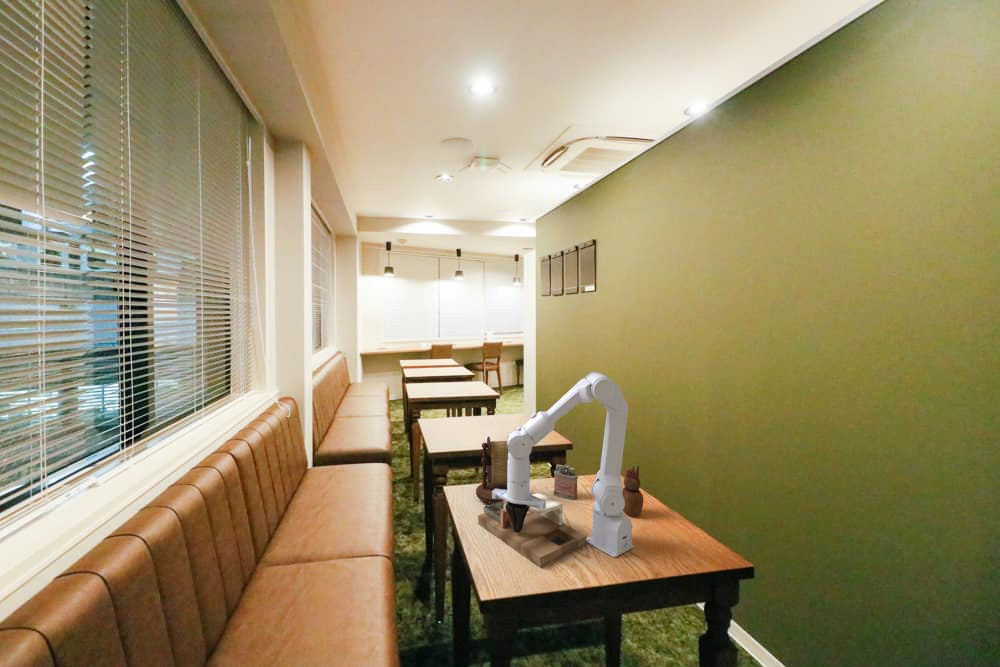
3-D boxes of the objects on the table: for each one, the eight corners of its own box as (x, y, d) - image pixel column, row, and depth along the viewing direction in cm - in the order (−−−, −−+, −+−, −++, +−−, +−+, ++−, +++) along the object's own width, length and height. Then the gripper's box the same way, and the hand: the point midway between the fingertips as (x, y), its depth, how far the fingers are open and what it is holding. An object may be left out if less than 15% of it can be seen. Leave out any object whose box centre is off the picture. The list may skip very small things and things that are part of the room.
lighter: (579, 497, 137) (579, 466, 136) (575, 501, 134) (575, 470, 134) (556, 491, 141) (556, 462, 141) (551, 495, 138) (552, 465, 138)
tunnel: (586, 545, 109) (586, 514, 108) (540, 567, 99) (540, 534, 98) (521, 508, 129) (521, 482, 128) (478, 523, 119) (478, 495, 119)
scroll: (479, 510, 127) (480, 444, 126) (473, 489, 142) (473, 430, 141) (527, 506, 130) (527, 442, 129) (516, 486, 145) (516, 428, 144)
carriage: (535, 515, 119) (535, 501, 118) (502, 527, 112) (503, 512, 111) (512, 502, 127) (512, 488, 127) (480, 512, 120) (480, 499, 120)
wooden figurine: (646, 517, 124) (648, 466, 123) (630, 520, 122) (632, 469, 121) (631, 507, 130) (632, 459, 129) (616, 510, 128) (617, 461, 127)
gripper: (551, 479, 108) (550, 530, 109) (501, 468, 115) (500, 517, 116) (539, 489, 102) (539, 543, 103) (488, 477, 109) (487, 528, 110)
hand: (518, 530), depth 109 cm, fingers closed
